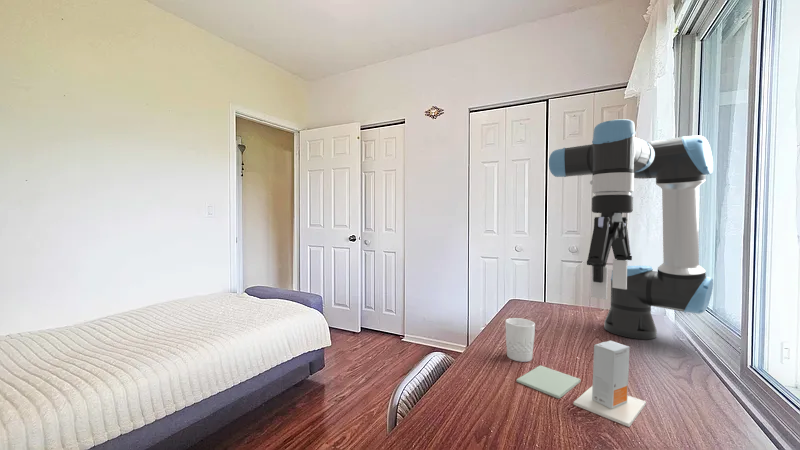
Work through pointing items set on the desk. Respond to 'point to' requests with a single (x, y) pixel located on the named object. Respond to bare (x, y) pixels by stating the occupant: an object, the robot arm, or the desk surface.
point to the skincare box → (610, 374)
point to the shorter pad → (549, 381)
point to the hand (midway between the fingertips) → (609, 293)
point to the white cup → (520, 339)
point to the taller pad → (618, 414)
